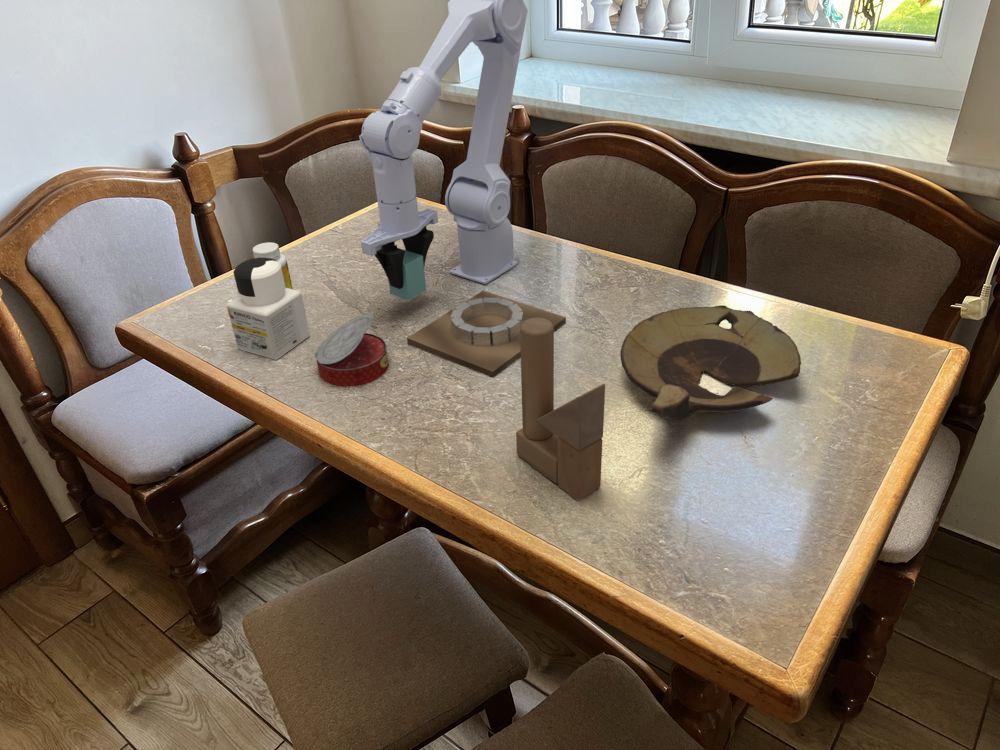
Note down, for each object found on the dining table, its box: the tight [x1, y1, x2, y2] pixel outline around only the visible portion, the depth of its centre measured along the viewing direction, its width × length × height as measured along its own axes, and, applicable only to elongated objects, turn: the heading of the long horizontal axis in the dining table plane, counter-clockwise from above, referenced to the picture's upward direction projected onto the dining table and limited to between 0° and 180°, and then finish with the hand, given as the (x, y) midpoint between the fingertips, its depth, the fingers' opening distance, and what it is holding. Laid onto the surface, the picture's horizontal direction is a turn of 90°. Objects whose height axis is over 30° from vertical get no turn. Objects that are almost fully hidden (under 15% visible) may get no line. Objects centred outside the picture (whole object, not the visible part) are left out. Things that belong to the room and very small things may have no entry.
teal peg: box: [387, 249, 427, 301], centre depth 119 cm, size 4×4×6 cm
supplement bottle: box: [252, 242, 294, 290], centre depth 123 cm, size 6×6×10 cm
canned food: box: [314, 312, 390, 388], centre depth 107 cm, size 11×10×10 cm
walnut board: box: [406, 289, 567, 379], centre depth 115 cm, size 18×16×1 cm
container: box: [226, 257, 311, 361], centre depth 112 cm, size 8×8×13 cm
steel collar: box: [450, 298, 523, 346], centre depth 114 cm, size 10×10×2 cm
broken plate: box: [620, 304, 802, 422], centre depth 100 cm, size 22×30×8 cm
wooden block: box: [515, 318, 606, 501], centre depth 84 cm, size 4×11×18 cm, turn 39°
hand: (407, 280), depth 120 cm, fingers closed on teal peg, 4 cm apart
